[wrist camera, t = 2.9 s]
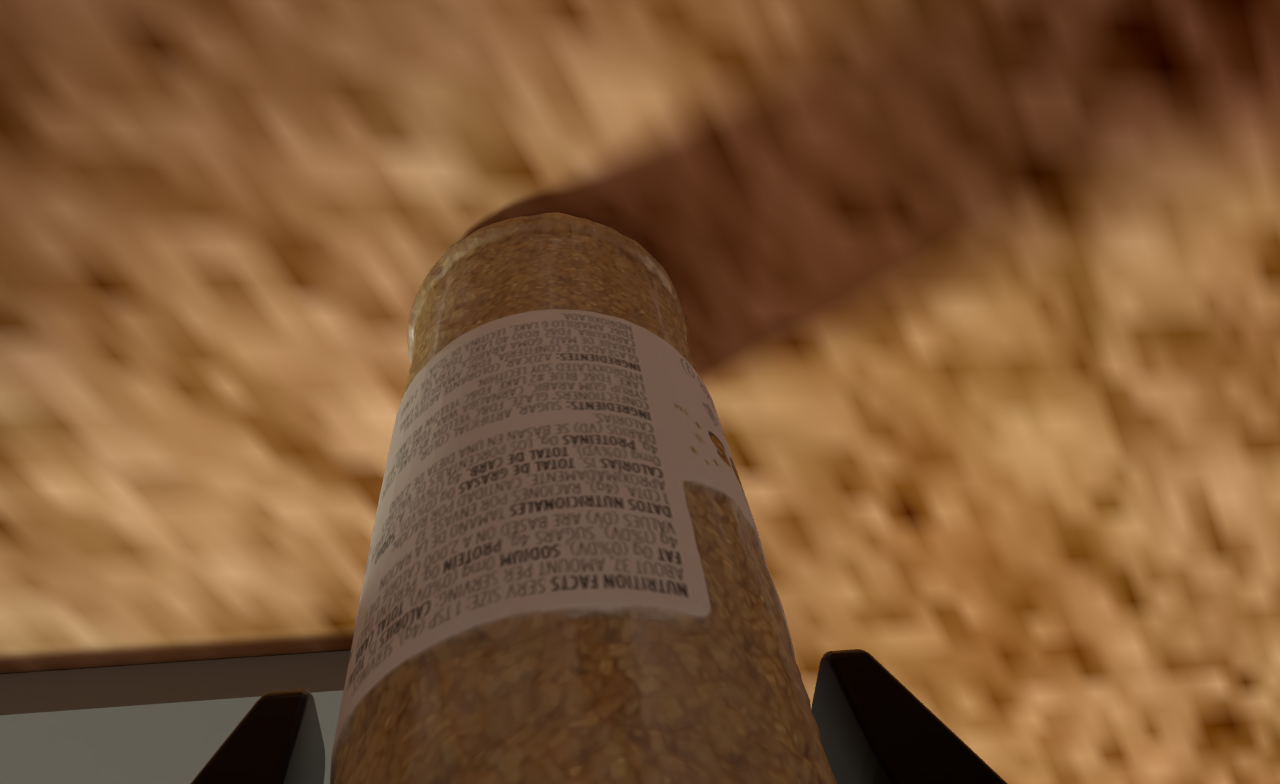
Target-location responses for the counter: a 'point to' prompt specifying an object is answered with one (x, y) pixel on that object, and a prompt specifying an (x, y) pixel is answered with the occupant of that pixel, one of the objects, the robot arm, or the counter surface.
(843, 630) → the counter surface
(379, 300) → the counter surface
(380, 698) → the sprinkles bottle
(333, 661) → the gray tray
